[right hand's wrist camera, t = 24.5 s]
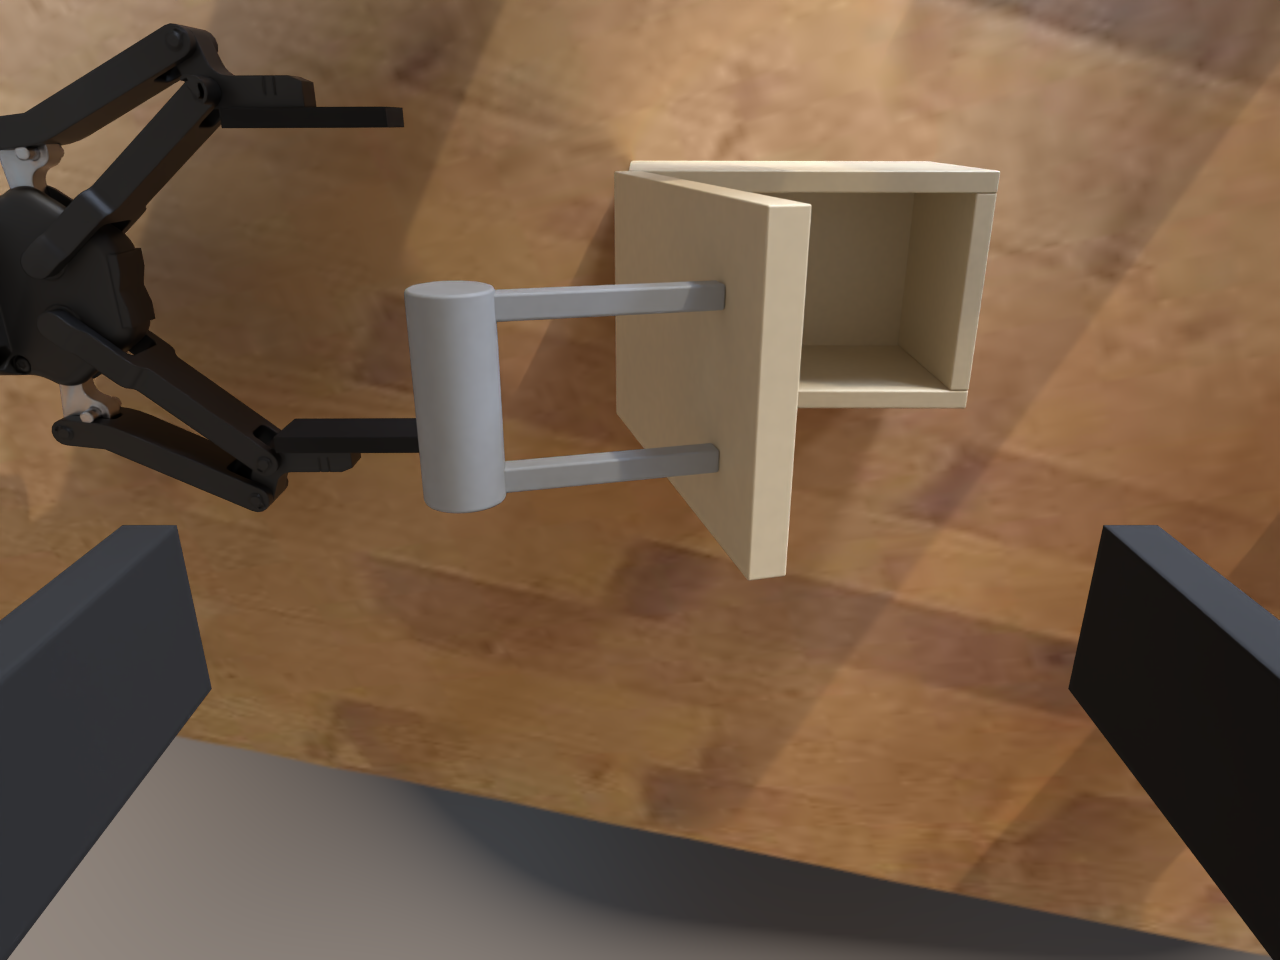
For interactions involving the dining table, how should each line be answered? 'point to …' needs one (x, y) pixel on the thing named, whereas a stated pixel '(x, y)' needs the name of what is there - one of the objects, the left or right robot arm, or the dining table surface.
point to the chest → (879, 272)
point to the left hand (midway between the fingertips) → (412, 286)
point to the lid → (643, 364)
